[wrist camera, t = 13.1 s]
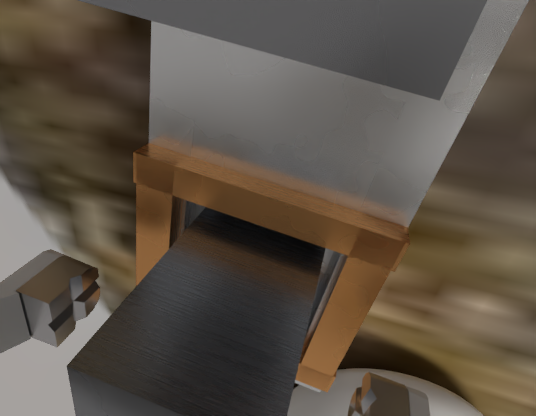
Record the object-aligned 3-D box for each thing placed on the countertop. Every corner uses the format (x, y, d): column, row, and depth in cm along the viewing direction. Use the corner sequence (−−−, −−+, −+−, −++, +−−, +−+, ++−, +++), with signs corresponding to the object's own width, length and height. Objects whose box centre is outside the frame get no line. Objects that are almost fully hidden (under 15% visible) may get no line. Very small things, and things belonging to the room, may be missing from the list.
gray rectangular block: (333, 214, 12) (277, 456, 6) (303, 292, 15) (238, 532, 8) (229, 180, 13) (67, 365, 6) (215, 259, 15) (83, 461, 8)
